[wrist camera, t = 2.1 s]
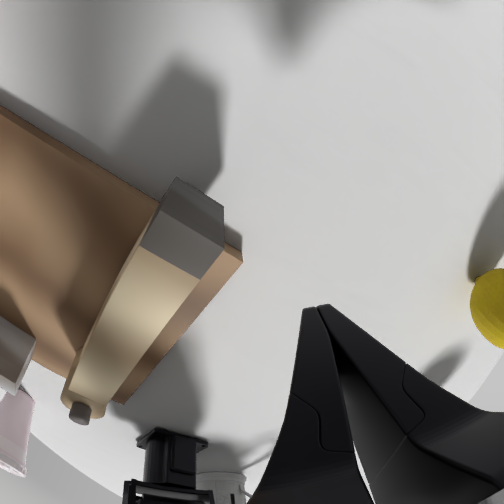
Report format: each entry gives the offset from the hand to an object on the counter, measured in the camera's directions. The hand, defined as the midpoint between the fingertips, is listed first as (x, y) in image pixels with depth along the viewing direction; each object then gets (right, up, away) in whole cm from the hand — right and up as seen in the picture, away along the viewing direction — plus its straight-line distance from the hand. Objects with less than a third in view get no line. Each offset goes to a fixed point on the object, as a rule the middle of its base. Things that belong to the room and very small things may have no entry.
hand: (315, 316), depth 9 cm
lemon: (+17, 0, +11) cm, 21 cm away
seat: (-16, 0, +7) cm, 17 cm away
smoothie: (-29, -15, +15) cm, 35 cm away
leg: (-9, -1, +7) cm, 12 cm away
